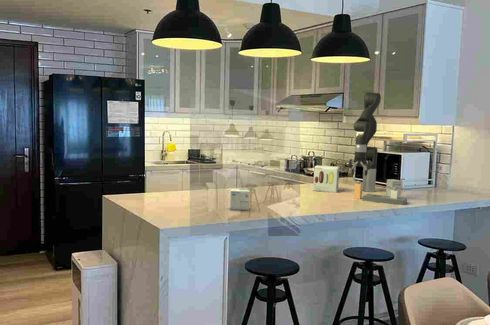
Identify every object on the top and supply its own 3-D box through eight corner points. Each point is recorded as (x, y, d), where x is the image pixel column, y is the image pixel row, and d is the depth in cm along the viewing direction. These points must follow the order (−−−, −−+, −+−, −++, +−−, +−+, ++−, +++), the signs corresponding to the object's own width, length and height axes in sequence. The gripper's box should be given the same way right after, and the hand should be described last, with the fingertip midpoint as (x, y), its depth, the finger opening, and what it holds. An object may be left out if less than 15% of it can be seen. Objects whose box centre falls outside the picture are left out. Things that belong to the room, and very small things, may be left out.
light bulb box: (248, 207, 278) (249, 189, 277) (249, 210, 271) (249, 191, 270) (230, 207, 278) (230, 188, 277) (230, 209, 271) (230, 190, 270)
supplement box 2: (385, 197, 335) (386, 179, 334) (394, 197, 337) (396, 179, 336) (391, 199, 328) (392, 180, 327) (400, 198, 330) (402, 180, 329)
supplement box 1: (312, 191, 353) (313, 166, 351) (315, 188, 366) (316, 165, 364) (336, 193, 348) (337, 168, 346) (338, 190, 361) (339, 166, 359)
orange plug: (355, 197, 328) (356, 180, 327) (361, 198, 326) (362, 180, 325) (354, 198, 325) (354, 180, 324) (359, 199, 323) (360, 181, 322)
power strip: (367, 198, 328) (368, 183, 327) (407, 202, 315) (408, 187, 314) (362, 200, 318) (363, 185, 317) (403, 205, 305) (404, 189, 304)
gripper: (372, 151, 322) (371, 175, 324) (351, 150, 329) (350, 174, 331) (369, 152, 316) (368, 176, 317) (348, 150, 323) (347, 174, 324)
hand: (359, 175), depth 324 cm, fingers open, 8 cm apart
